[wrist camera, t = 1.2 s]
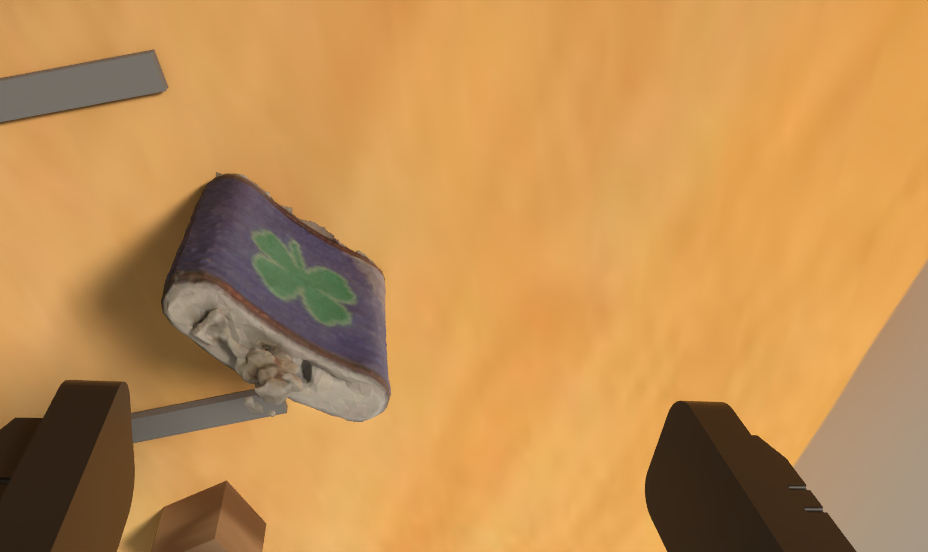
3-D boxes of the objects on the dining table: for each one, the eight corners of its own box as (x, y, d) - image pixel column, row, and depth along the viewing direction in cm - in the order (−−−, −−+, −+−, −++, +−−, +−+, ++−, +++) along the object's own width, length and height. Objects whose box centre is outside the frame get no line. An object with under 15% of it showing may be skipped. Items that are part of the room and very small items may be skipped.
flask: (395, 273, 35) (406, 430, 26) (357, 314, 36) (354, 479, 27) (224, 157, 31) (165, 294, 22) (186, 207, 32) (115, 357, 23)
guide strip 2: (279, 384, 38) (278, 390, 37) (287, 406, 38) (286, 412, 38) (-35, 445, 37) (-40, 453, 37) (-20, 466, 38) (-25, 474, 38)
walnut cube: (227, 479, 41) (214, 539, 37) (266, 522, 43) (257, 582, 39) (164, 506, 41) (146, 567, 38) (206, 547, 43) (192, 608, 40)
